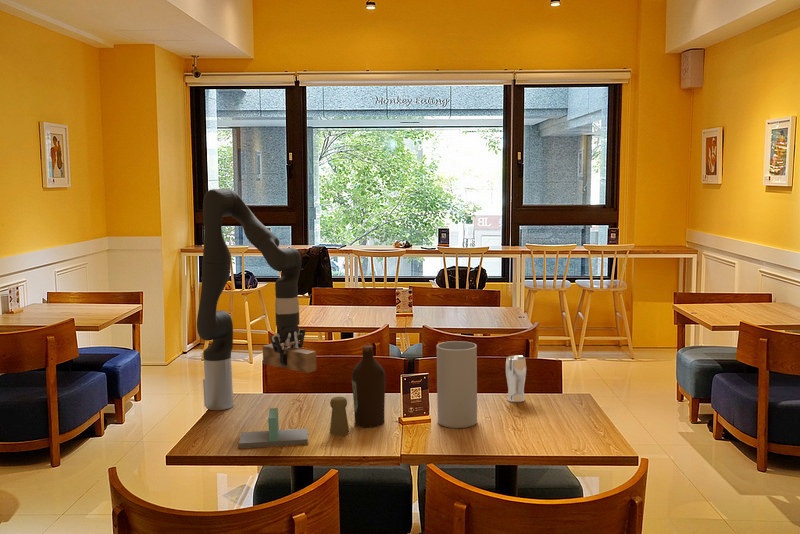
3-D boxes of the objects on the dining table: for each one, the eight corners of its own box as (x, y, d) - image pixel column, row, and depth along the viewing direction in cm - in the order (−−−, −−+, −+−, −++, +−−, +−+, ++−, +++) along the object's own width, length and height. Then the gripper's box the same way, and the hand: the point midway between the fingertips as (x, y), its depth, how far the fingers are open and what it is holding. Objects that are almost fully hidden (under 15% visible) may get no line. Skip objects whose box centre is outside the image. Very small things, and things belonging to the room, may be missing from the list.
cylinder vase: (450, 414, 259) (450, 339, 256) (484, 420, 252) (483, 344, 249) (430, 424, 249) (428, 347, 246) (464, 431, 242) (463, 351, 239)
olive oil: (386, 417, 258) (384, 342, 254) (386, 427, 247) (384, 349, 244) (353, 418, 257) (351, 343, 254) (352, 428, 247) (350, 350, 244)
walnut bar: (263, 363, 257) (262, 345, 257) (272, 361, 261) (271, 343, 260) (307, 372, 245) (307, 353, 245) (316, 370, 249) (315, 351, 248)
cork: (334, 436, 240) (333, 401, 239) (326, 430, 245) (325, 396, 244) (352, 433, 243) (351, 398, 241) (344, 427, 248) (343, 393, 247)
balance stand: (239, 448, 231) (237, 420, 230) (241, 437, 241) (240, 410, 240) (307, 444, 234) (306, 416, 233) (307, 433, 244) (306, 406, 242)
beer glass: (529, 398, 275) (529, 356, 273) (521, 403, 269) (521, 360, 267) (510, 396, 279) (510, 354, 277) (502, 401, 273) (502, 358, 271)
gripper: (294, 306, 259) (296, 357, 261) (262, 313, 247) (264, 366, 250) (311, 308, 254) (313, 360, 256) (279, 315, 243) (281, 370, 245)
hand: (289, 363), depth 253 cm, fingers closed on walnut bar, 4 cm apart
